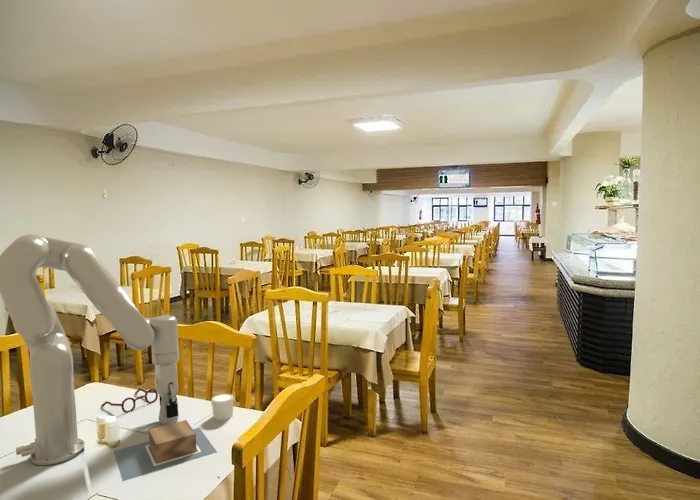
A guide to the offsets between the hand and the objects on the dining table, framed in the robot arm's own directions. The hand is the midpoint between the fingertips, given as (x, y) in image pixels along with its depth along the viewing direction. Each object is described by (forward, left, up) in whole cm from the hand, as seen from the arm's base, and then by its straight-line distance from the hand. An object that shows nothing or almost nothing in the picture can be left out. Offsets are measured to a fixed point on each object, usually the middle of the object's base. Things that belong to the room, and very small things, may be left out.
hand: (168, 411), depth 142 cm
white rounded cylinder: (+15, -6, -5) cm, 17 cm away
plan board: (-5, -18, -4) cm, 19 cm away
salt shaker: (0, 0, -5) cm, 5 cm away
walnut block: (-3, -18, -3) cm, 19 cm away
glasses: (-8, +25, -5) cm, 26 cm away
